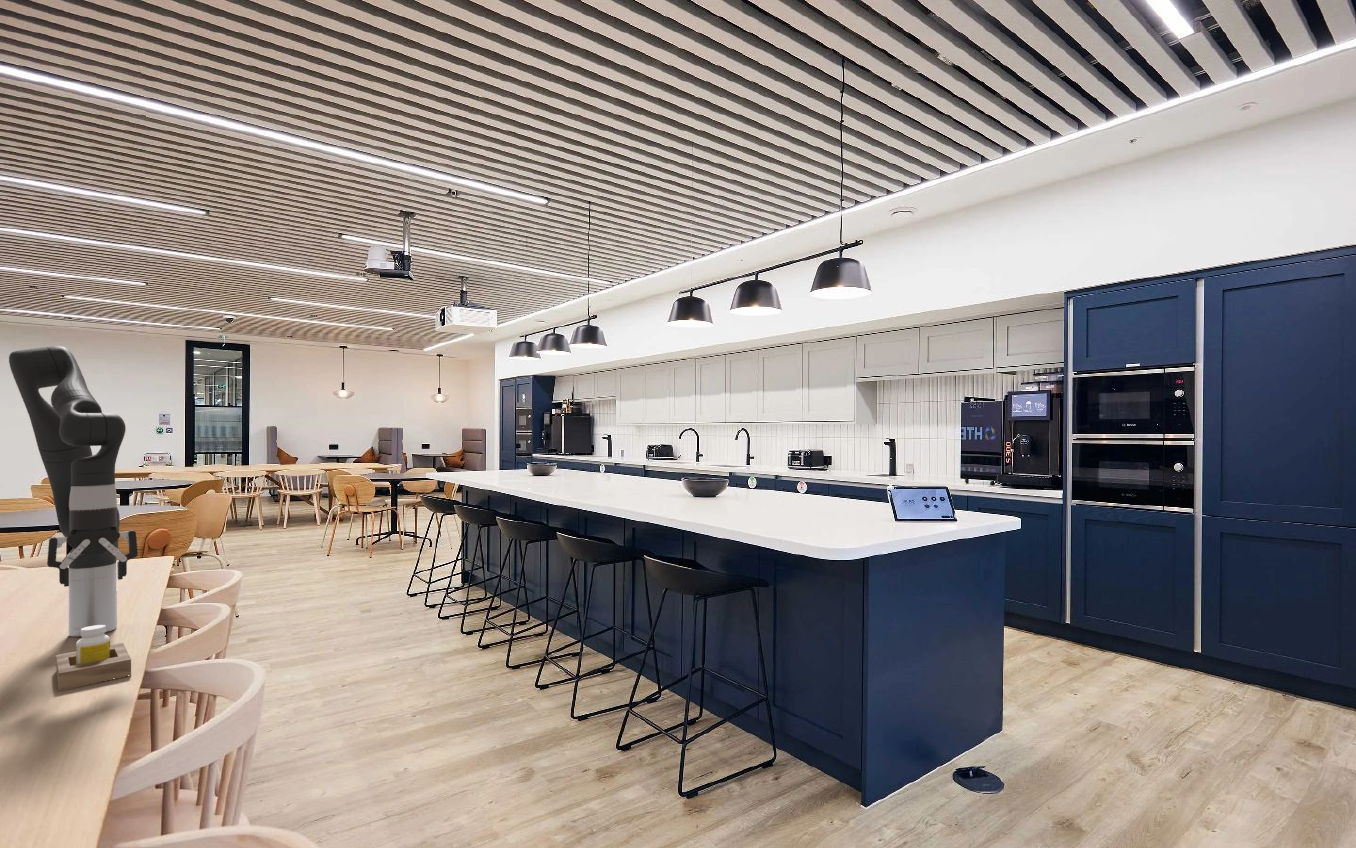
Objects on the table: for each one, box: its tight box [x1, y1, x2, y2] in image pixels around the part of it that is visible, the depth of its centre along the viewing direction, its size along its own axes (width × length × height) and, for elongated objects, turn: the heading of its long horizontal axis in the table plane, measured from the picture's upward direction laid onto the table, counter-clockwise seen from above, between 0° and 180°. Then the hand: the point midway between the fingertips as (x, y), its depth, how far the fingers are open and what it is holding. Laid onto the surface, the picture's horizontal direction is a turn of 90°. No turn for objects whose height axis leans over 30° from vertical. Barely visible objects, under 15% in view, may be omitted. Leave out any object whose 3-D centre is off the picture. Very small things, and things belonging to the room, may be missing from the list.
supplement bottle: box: [75, 625, 111, 665], centre depth 138 cm, size 5×5×10 cm
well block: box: [55, 642, 132, 692], centre depth 138 cm, size 16×11×4 cm
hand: (94, 582), depth 138 cm, fingers open, 8 cm apart
